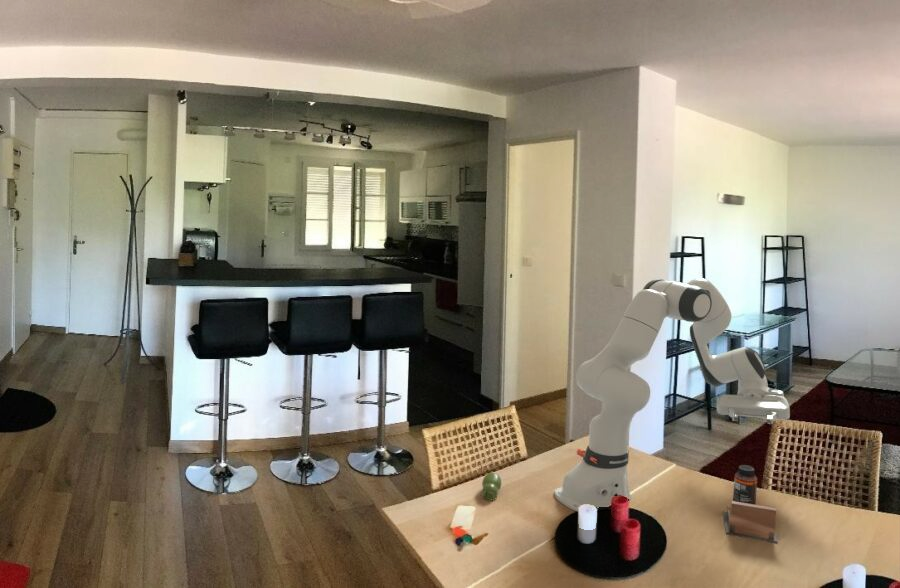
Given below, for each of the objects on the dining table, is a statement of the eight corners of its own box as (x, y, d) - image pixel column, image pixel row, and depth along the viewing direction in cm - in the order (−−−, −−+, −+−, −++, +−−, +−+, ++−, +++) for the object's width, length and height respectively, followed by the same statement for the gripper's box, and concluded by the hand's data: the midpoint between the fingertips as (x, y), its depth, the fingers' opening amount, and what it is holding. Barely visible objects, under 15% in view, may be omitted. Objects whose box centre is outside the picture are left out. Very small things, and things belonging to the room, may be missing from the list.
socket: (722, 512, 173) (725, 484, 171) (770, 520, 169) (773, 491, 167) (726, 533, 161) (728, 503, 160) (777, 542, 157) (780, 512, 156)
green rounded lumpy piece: (503, 470, 185) (497, 490, 176) (502, 485, 186) (497, 506, 177) (484, 468, 186) (478, 487, 177) (484, 483, 188) (478, 503, 178)
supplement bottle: (750, 500, 180) (753, 463, 179) (758, 510, 174) (762, 472, 173) (729, 499, 181) (732, 462, 179) (736, 509, 175) (739, 471, 173)
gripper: (716, 386, 200) (714, 408, 188) (788, 391, 191) (790, 414, 179) (717, 404, 202) (714, 426, 190) (788, 409, 192) (790, 432, 181)
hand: (752, 420), depth 184 cm, fingers open, 8 cm apart
